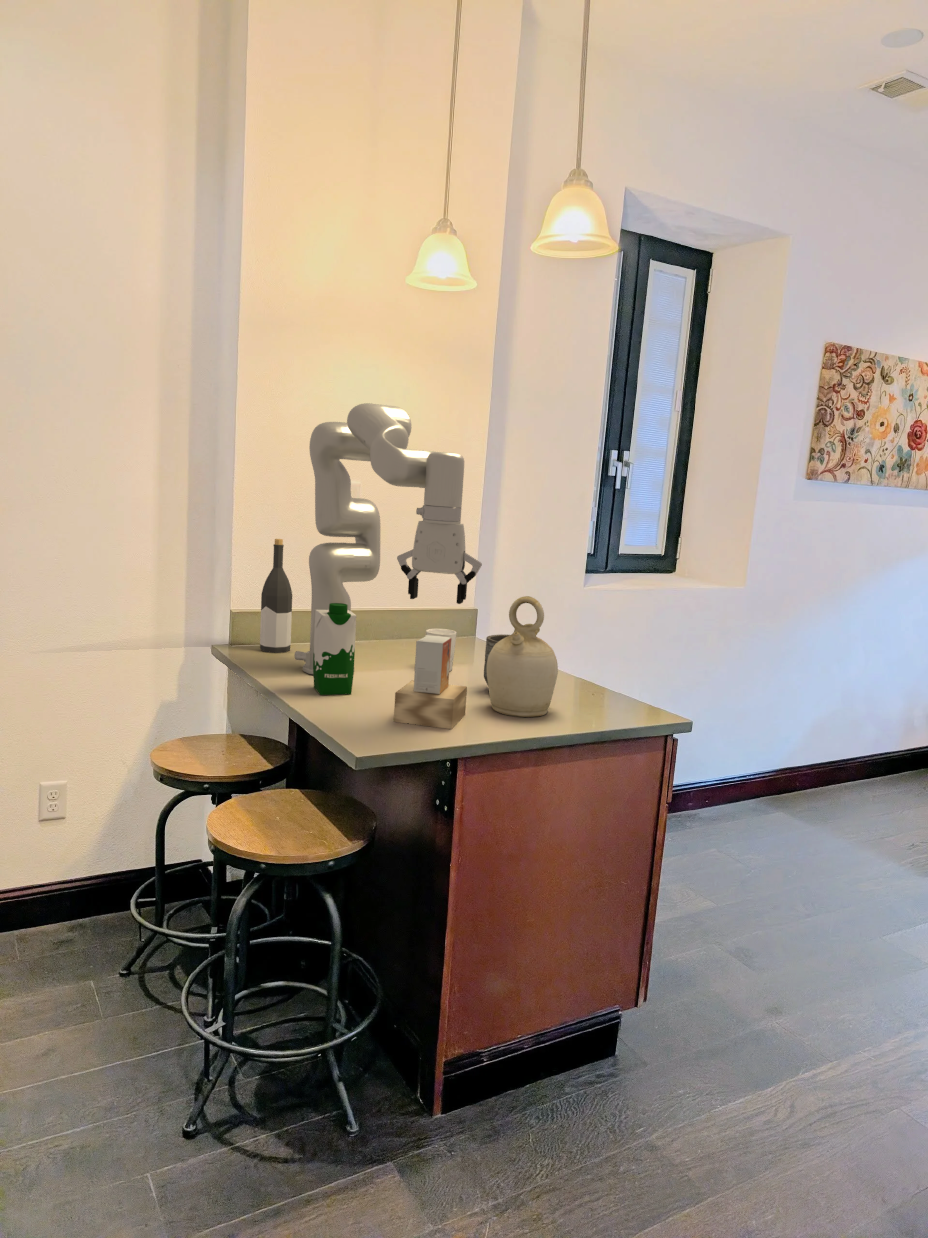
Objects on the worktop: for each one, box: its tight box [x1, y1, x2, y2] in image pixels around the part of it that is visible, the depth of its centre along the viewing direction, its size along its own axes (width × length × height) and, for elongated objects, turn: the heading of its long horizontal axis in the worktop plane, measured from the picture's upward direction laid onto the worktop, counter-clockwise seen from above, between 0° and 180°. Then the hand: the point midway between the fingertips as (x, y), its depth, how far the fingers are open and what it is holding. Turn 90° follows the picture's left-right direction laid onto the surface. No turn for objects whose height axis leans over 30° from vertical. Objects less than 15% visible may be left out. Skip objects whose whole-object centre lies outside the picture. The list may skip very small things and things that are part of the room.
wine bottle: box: [259, 538, 293, 654], centre depth 236 cm, size 8×8×30 cm
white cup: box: [425, 628, 457, 672], centre depth 227 cm, size 8×8×10 cm
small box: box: [413, 634, 451, 694], centre depth 179 cm, size 8×6×10 cm
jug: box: [487, 595, 559, 718], centre depth 190 cm, size 15×16×25 cm
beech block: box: [393, 679, 468, 730], centre depth 180 cm, size 12×12×6 cm
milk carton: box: [312, 603, 357, 696], centre depth 196 cm, size 9×9×20 cm
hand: (436, 600), depth 178 cm, fingers open, 9 cm apart
